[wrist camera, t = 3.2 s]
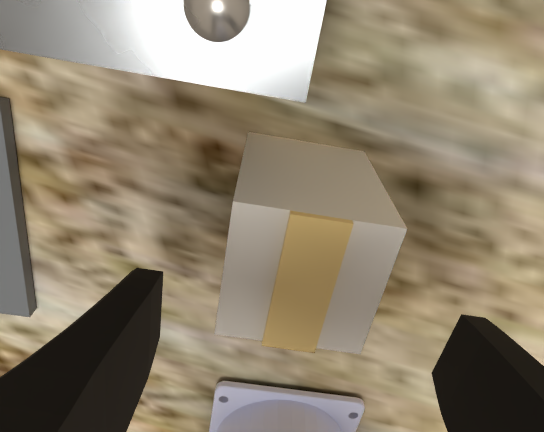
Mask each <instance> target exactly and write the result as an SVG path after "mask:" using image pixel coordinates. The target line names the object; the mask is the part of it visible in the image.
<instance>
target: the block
mask: <svg viewBox="0 0 544 432" xmlns="http://www.w3.org/2000/svg"><path fill="white" fill-rule="evenodd" d="M406 231H407V227H406V225H405V224H404V222H403V220H402V218H401V216H400V215H399V213H398V211H397V209H396V207H395V206H394V204H393V202H392V200H391V198H390V197H389V195H388V193H387V191H386V189H385V188H384V186H383V184H382V182H381V180H380V179H379V177H378V175H377V173H376V171H375V170H374V168H373V166H372V164H371V162H370V161H369V159H368V157H367V155H366V153H365V152H364V151H360V150H354V149H348V148H342V147H336V146H330V145H324V144H319V143H313V142H307V141H301V140H295V139H289V138H283V137H277V136H272V135H266V134H260V133H254V132H248V135H247V139H246V144H245V148H244V153H243V158H242V162H241V167H240V171H239V176H238V180H237V185H236V189H235V194H234V199H233V204H232V211H231V218H230V226H229V233H228V240H227V247H226V254H225V261H224V269H223V276H222V283H221V290H220V297H219V304H218V311H217V319H216V326H215V333H214V334H215V335H222V336H230V337H237V338H245V339H252V340H259V341H262V346H267V347H274V348H282V349H289V350H297V351H304V352H311V353H315V350H316V348H319V349H326V350H333V351H341V352H348V353H355V354H361V351H362V348H363V346H364V343H365V340H366V338H367V335H368V332H369V330H370V327H371V324H372V322H373V319H374V316H375V314H376V311H377V308H378V306H379V303H380V300H381V298H382V295H383V292H384V290H385V287H386V284H387V282H388V279H389V276H390V274H391V271H392V269H393V266H394V263H395V261H396V258H397V255H398V253H399V250H400V247H401V245H402V242H403V239H404V237H405V234H406Z"/></svg>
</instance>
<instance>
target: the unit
mask: <svg viewBox="0 0 544 432" xmlns="http://www.w3.org/2000/svg"><path fill="white" fill-rule="evenodd" d="M326 1H327V0H0V49H2V50H8V51H13V52H19V53H25V54H30V55H36V56H42V57H47V58H53V59H59V60H65V61H70V62H76V63H82V64H87V65H93V66H99V67H105V68H110V69H116V70H122V71H127V72H133V73H139V74H144V75H150V76H156V77H162V78H167V79H173V80H179V81H184V82H190V83H196V84H201V85H207V86H213V87H219V88H224V89H230V90H236V91H241V92H247V93H253V94H259V95H264V96H270V97H276V98H281V99H287V100H293V101H298V102H304V103H306V98H307V93H308V88H309V84H310V79H311V74H312V69H313V64H314V59H315V54H316V50H317V45H318V40H319V35H320V30H321V25H322V20H323V15H324V11H325V6H326Z"/></svg>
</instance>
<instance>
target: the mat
mask: <svg viewBox="0 0 544 432" xmlns="http://www.w3.org/2000/svg"><path fill="white" fill-rule="evenodd" d="M35 310H36V301H35V294H34V286H33V278H32V271H31V263H30V255H29V248H28V240H27V232H26V224H25V217H24V209H23V201H22V194H21V186H20V178H19V170H18V163H17V155H16V147H15V140H14V132H13V124H12V117H11V109H10V101H9V98H4V97H0V313H2V314H10V315H17V316H25V317H30V316H31V315H32V314H33V312H34V311H35Z"/></svg>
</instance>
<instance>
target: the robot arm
mask: <svg viewBox="0 0 544 432" xmlns="http://www.w3.org/2000/svg"><path fill="white" fill-rule="evenodd" d="M162 286H163V272H162V271H155V270H148V269H141V268H136V269H134V270H133V271H131V272H130V273H129V274H128V275H127V276H126V277H125V278H124V279H123V280H122V281H121V282H120V283H119V284H117V285H116V286H115V287H114V288H113V289H112V290H111V291H110V292H109V293H108V294H106V295H105V296H104V297H103V298H102V299H101V300H100V301H99V302H97V303H96V304H95V305H94V306H93V307H92V308H90V309H89V310H88V311H87V312H86V313H84V314H83V315H82V316H81V317H80V318H78V319H77V320H76V321H75V322H74V323H72V324H71V325H70V326H69V327H68V328H66V329H65V330H64V331H63V332H61V333H60V334H59V335H57V336H56V337H55V338H53V339H52V340H51V341H49V342H48V343H47V344H46V345H44V346H43V347H42V348H40V349H39V350H38V351H36V352H35V353H34V354H32V355H31V356H30V357H28V358H27V359H26V360H24V361H23V362H21V363H20V364H19V365H17V366H16V367H14V368H13V369H11V370H10V371H9V372H7V373H6V374H4V375H3V376H1V377H0V432H126V431H127V429H128V426H129V424H130V421H131V419H132V416H133V414H134V412H135V409H136V407H137V404H138V402H139V399H140V397H141V394H142V392H143V389H144V387H145V384H146V382H147V379H148V377H149V373H150V370H151V366H152V363H153V359H154V356H155V352H156V349H157V345H158V341H159V338H160V324H161V305H162ZM432 376H433V381H434V386H435V390H436V395H437V399H438V403H439V407H440V411H441V414H442V417H443V420H444V423H445V426H446V428H447V431H448V432H544V366H543V365H542V364H540V363H539V362H538V361H537V360H536V359H535V358H534V357H532V356H531V355H530V354H529V353H528V352H527V351H525V350H524V349H523V348H522V347H521V346H520V345H518V344H517V343H516V342H515V341H514V340H513V339H511V338H510V337H509V336H508V335H507V334H505V333H504V332H503V331H502V330H500V329H499V328H498V327H497V326H495V325H494V324H493V323H492V322H490V321H489V320H488V319H486V318H482V317H475V316H469V315H462V314H461V316H460V318H459V320H458V322H457V324H456V326H455V328H454V330H453V332H452V334H451V336H450V338H449V340H448V342H447V344H446V346H445V348H444V350H443V352H442V354H441V356H440V358H439V360H438V362H437V364H436V365H435V367H434V369H433V371H432ZM364 410H365V405H364V402H363V400H362V399H360V398H357V397H349V396H341V395H333V394H325V393H317V392H310V391H302V390H294V389H286V388H278V387H270V386H263V385H255V384H247V383H239V382H231V381H221V382H219V383H218V384H217V385H216V389H215V395H214V402H213V408H212V415H211V421H210V428H209V432H356V429H357V427H358V425H359V422H360V420H361V418H362V415H363V413H364Z"/></svg>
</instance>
